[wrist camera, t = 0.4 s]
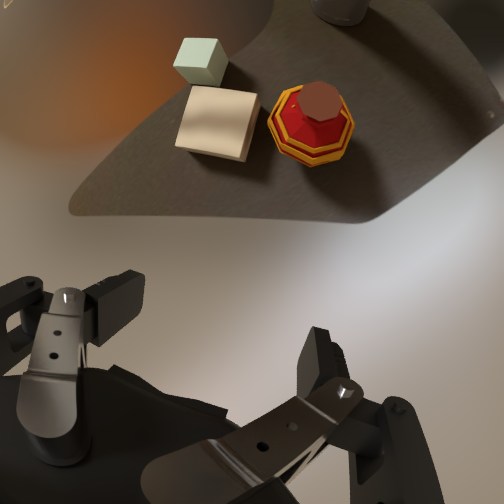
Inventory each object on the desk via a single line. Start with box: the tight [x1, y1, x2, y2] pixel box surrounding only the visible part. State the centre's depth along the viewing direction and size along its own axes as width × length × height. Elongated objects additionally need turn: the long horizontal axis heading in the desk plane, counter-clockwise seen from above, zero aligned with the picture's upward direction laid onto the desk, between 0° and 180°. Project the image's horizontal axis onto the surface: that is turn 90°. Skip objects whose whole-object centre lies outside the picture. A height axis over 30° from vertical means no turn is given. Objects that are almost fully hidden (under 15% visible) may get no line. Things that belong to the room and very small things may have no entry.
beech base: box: [175, 86, 261, 162], centre depth 34 cm, size 9×9×5 cm
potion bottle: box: [267, 81, 355, 167], centre depth 28 cm, size 10×10×15 cm
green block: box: [173, 38, 229, 87], centre depth 32 cm, size 5×5×7 cm
